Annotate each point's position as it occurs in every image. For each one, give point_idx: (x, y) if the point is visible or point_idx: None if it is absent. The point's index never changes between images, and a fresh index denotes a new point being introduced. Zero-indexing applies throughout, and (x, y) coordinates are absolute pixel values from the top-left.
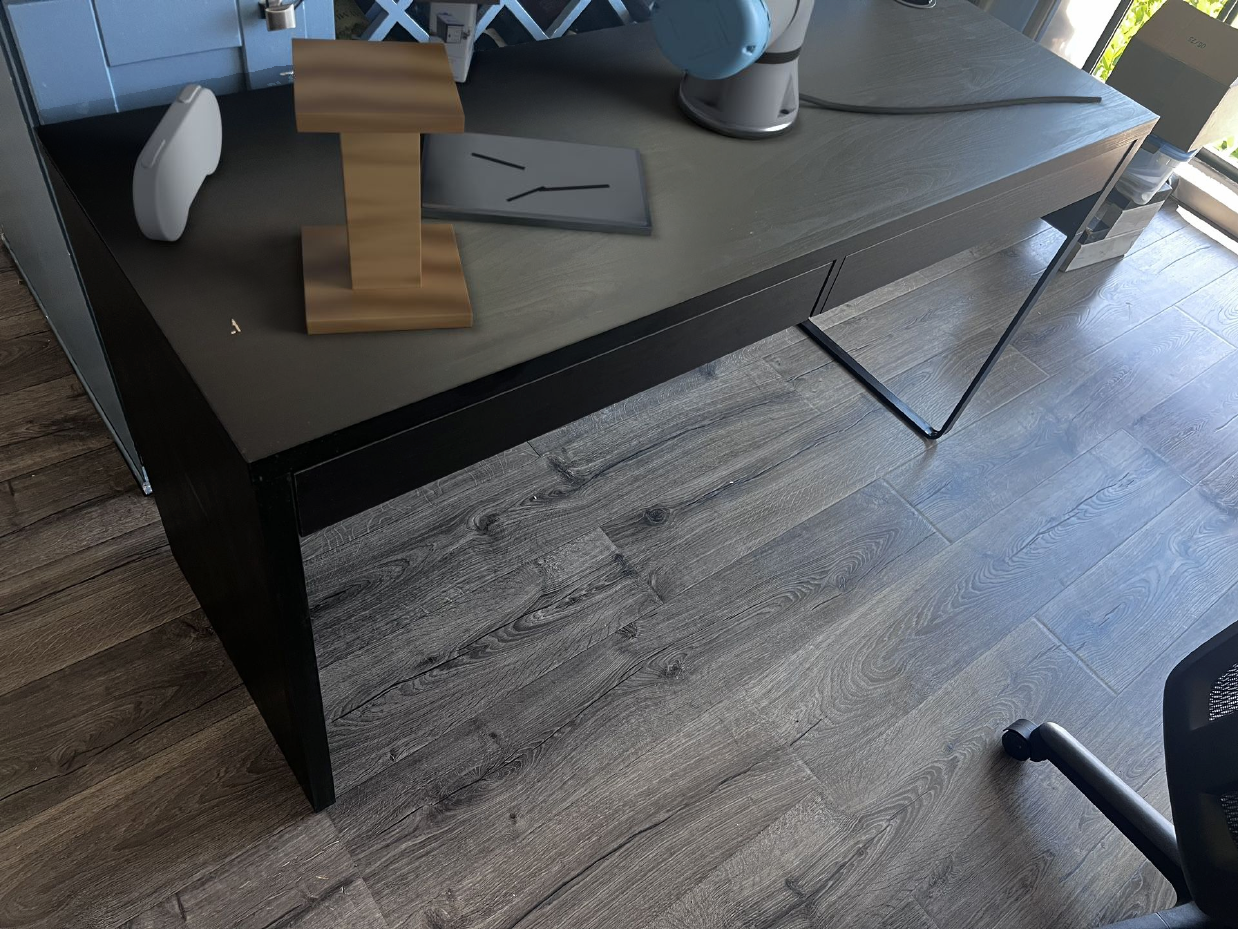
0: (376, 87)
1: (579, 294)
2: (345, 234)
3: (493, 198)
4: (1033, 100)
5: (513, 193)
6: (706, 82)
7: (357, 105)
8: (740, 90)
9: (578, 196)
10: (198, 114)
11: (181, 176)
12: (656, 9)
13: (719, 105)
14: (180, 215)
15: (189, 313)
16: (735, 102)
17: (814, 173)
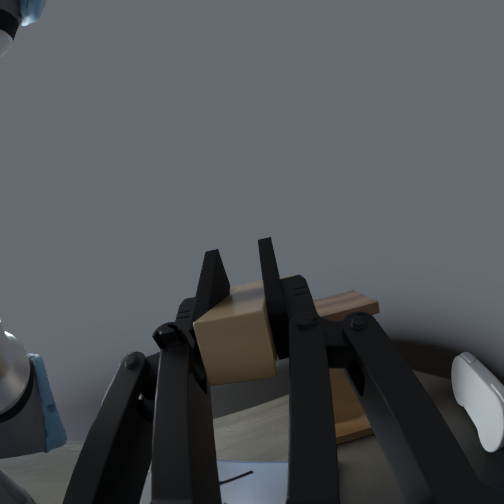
0: (322, 302)
1: (236, 426)
2: (367, 421)
3: (263, 472)
4: None
5: (245, 478)
6: (11, 500)
7: (329, 297)
8: (10, 479)
9: None
10: (486, 395)
11: (465, 386)
12: (55, 410)
13: (22, 498)
14: (458, 394)
15: (420, 379)
16: (17, 486)
17: (35, 467)
